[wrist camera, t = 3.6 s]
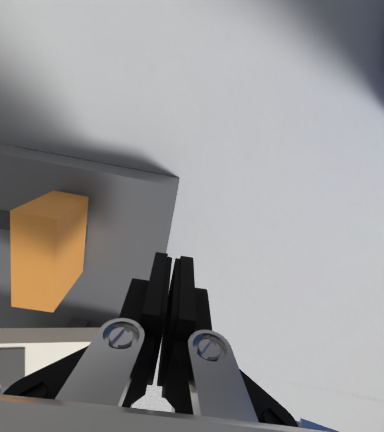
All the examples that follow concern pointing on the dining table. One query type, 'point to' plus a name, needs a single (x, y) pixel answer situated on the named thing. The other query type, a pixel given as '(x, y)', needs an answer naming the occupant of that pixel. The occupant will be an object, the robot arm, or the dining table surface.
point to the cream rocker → (37, 349)
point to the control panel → (88, 231)
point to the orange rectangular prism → (47, 249)
